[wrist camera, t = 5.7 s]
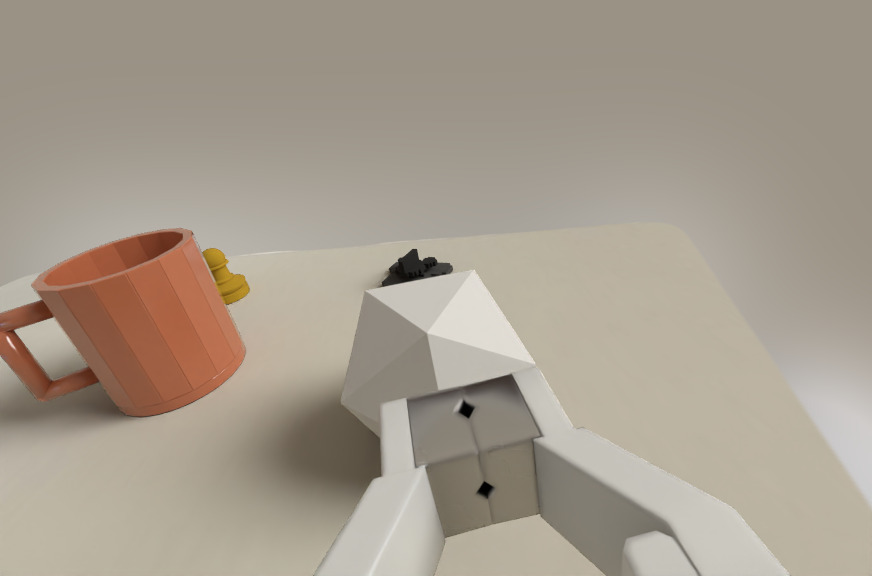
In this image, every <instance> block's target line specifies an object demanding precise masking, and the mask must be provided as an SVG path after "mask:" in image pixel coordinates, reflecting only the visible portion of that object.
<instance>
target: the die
mask: <svg viewBox="0 0 872 576" xmlns="http://www.w3.org/2000/svg"><path fill="white" fill-rule="evenodd" d="M534 366H536V363H535V362H534V360H533V359H532V357H531V356H530V354H529V353H528V351H527V350H526V348H525V347H524V345H523V344H522V342H521V340H520V339H519V337H518V336H517V334H516V333H515V331H514V330H513V328H512V327H511V325H510V324H509V322H508V321H507V319H506V318H505V316H504V315H503V313H502V311H501V310H500V308H499V307H498V305H497V304H496V302H495V301H494V299H493V298H492V296H491V295H490V293H489V292H488V290H487V289H486V287H485V286H484V284H483V282H482V281H481V279H480V278H479V276H478V275H477V273H476V272H475V270H474V269H473V270H468V271H462V272H457V273H452V274H447V275H442V276H437V277H432V278H427V279H421V280H416V281H411V282H406V283H401V284H396V285H391V286H385V287H380V288H375V289H370V290H365V293H364V298H363V302H362V307H361V311H360V316H359V320H358V325H357V329H356V334H355V338H354V343H353V348H352V352H351V357H350V361H349V366H348V370H347V375H346V379H345V384H344V388H343V393H342V398H341V402H340V403H341V404H342V405H343V406H344V407H345V408H347V409H348V410H349V411H350V412H351V413H352V414H353V415H355V416H356V417H357V418H358V419H359V420H360V421H361V422H362V423H364V424H365V425H366V426H367V427H368V428H369V429H370V430H371V431H373V432H374V433H375V434H376V435H377V436H378V437H379V438H380V428H379V407H380V403H384V402H389V401H393V400H398V399H403V398H407V397H410V396H414V395H419V394H424V393H428V392H433V391H438V390H442V389H447V388H452V387H456V386H461V385H465V384H469V383H473V382H477V381H481V380H485V379H489V378H493V377H497V376H501V375H505V374H510V373H511V372H515V371H519V370H523V369H527V368H531V367H534Z"/></svg>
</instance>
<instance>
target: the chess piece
mask: <svg viewBox="0 0 872 576" xmlns="http://www.w3.org/2000/svg"><path fill="white" fill-rule="evenodd" d="M202 253H203V256H204V258H205V260H206V262H207V264H208V266H209V268H210V271H211V273H212V275H213V277H214V279H215V281H216V283H217V285H218V288H219V290H220V292H221V294H222V296H223V298H224V300H225V303H226V305H227V304H230V303H233V302H235V301H237V300H239V299H241V298H243V297H244V296H245V295H247V294H248V292H249V290H250V289H249V286H248V284H247V282H246V280H245V276H244V275H240V274H236V275H234V274H233V273H230V272H229V270H228V269H227V267H226V264H227V263H228V262H229V261H228V260H227V259H225V255H224V254H223V253H222V252H221V251H220V250H218V249H215V248H210V249H206V250H205V251H203V252H202Z"/></svg>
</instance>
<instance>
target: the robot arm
mask: <svg viewBox="0 0 872 576" xmlns="http://www.w3.org/2000/svg"><path fill="white" fill-rule="evenodd" d="M379 428H380V454H381V477H378V478H374V479H372V481H371V483H370V484H369V486H368V487H367V489H366V491H365V492H364V494H363V496H362V497H361V499H360V500H359V502H358V504H357V505H356V507H355V508H354V510H353V512H352V513H351V515H350V516H349V518H348V520H347V521H346V523H345V525H344V526H343V528H342V529H341V531H340V533H339V534H338V536H337V537H336V539H335V541H334V542H333V544H332V546H331V547H330V549H329V550H328V552H327V554H326V555H325V557H324V558H323V560H322V562H321V563H320V565H319V566H318V568H317V570H316V571H315V573H314V575H313V576H434V575H435V572H436V569H437V566H438V563H439V560H440V557H441V554H442V551H443V548H444V545H445V542H446V541H445V538H447V537H451V536H454V535H457V534H461V533H464V532H468V531H471V530H475V529H478V528H482V527H485V526H489V525H492V524H497V523H501V522H506V521H510V520H515V519H519V518H524V517H528V516H532V515H537V514H540V515H541V517H542V518H543V519H544V520H545V521H546V522H547V523H549V524H550V525H551V526H552V527H553V528H554V529H555V530H556V531H557V532H559V533H560V534H561V535H562V536H563V537H564V538H565V539H566V540H567V541H569V542H570V543H571V544H572V545H573V546H574V547H575V548H576V549H577V550H579V551H580V552H581V553H582V554H583V555H584V556H585V557H586V558H587V559H588V560H590V561H591V562H592V563H593V564H594V565H595V566H596V567H597V568H598V569H600V570H601V571H602V572H603V573H604V574H605V575H606V576H791V575H790V574H789V573H788V572H787V571H786V569H785V568H784V567H783V566H782V565H781V564H780V562H779V561H778V560H777V559H776V558H775V556H774V555H773V554H772V553H771V552H770V550H769V549H768V548H767V547H766V546H765V544H764V543H763V542H762V541H761V540H760V539H759V537H758V536H757V535H756V534H755V533H754V531H753V530H752V529H751V528H750V527H749V525H748V524H747V523H746V522H745V521H744V519H743V518H742V517H741V516H740V515H739V514H738V512H737V511H736V510H735V509H734V508H733V507H731V506H729V505H727V504H725V503H724V502H722V501H720V500H718V499H716V498H714V497H712V496H711V495H709V494H707V493H705V492H703V491H701V490H699V489H698V488H696V487H694V486H692V485H690V484H688V483H686V482H684V481H683V480H681V479H679V478H677V477H675V476H673V475H671V474H670V473H668V472H666V471H664V470H662V469H660V468H658V467H657V466H655V465H653V464H651V463H649V462H647V461H645V460H644V459H642V458H640V457H638V456H636V455H634V454H632V453H631V452H629V451H627V450H625V449H623V448H621V447H619V446H617V445H616V444H614V443H612V442H610V441H608V440H606V439H604V438H603V437H601V436H599V435H597V434H595V433H593V432H591V431H590V430H588V429H586V428H584V427H581V428H577V429H574V427H573V425H572V424H571V422H570V420H569V418H568V417H567V415H566V413H565V412H564V410H563V408H562V407H561V405H560V403H559V402H558V400H557V398H556V396H555V395H554V393H553V391H552V390H551V388H550V386H549V385H548V383H547V381H546V379H545V378H544V376H543V374H542V373H541V371H540V369H539V368H537V367H535V366H534V367H531V368H527V369H523V370H519V371H515V372H511V373H510V374H505V375H501V376H497V377H493V378H489V379H485V380H481V381H477V382H473V383H469V384H465V385H461V386H456V387H452V388H447V389H442V390H438V391H433V392H428V393H424V394H419V395H414V396H410V397H407V398H403V399H398V400H393V401H389V402H384V403H380V407H379Z"/></svg>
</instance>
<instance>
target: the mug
mask: <svg viewBox="0 0 872 576" xmlns="http://www.w3.org/2000/svg"><path fill="white" fill-rule="evenodd" d="M31 287H32V288H33V289H34V291H35V292H36V294H37V295H38V297H39V298H40V299H41V300H40V301H37V302H34V303H30V304H27V305H24V306H21V307H18V308H14V309H11V310H8V311H5V312H1V313H0V356H1V357H2V358H3V359H4V361H5V362H6V363H7V364H8V366H9V367H10V368H11V369H12V371H13V372H14V373H15V374H16V375H17V377H18V378H19V379H20V380H21V382H22V383H23V384H24V385H25V386H26V388H27V389H28V390H29V391H30V393H31V394H32V395H33V396H34V398H35V399H36V400H38V401H41V402H47V401H51V400H53V399H56V398H58V397H61V396H64V395H66V394H69V393H72V392H74V391H77V390H79V389H82V388H85V387H87V386H90V385H93V384H95V383H98V382H99V383H100V385H101V386H102V387H103V389H104V390H105V392H106V393H107V395H108V396H109V397H110V398H111V400H112V401H113V402H114V403H115V405H116V406H117V408H118V409H119V410H120V411H121V412H122V413H124V414H127V415H130V416H139V417H141V416H151V415H157V414H161V413H165V412H169V411H172V410H175V409H177V408H180V407H183V406H185V405H187V404H189V403H191V402H194V401H196V400H197V399H199V398H201V397H203V396H205V395H206V394H208V393H210V392H211V391H213V390H214V389H216V388H217V387H218V386H220V385H221V384H222V383H223V382H225V381H226V380H227V379H228V378H229V377H230V376H231V375H232V374H233V373H234V372H235V371H236V370H237V369H238V367H239V366H240V365H241V363H242V361H243V359H244V356H245V352H246V349H245V345H244V343H243V341H242V339H241V335H240V332H239V330H238V328H237V326H236V324H235V322H234V320H233V317H232V315H231V313H230V311H229V309H228V307H227V305H226V303H225V300H224V298H223V296H222V294H221V292H220V290H219V288H218V285H217V283H216V281H215V279H214V277H213V275H212V273H211V271H210V268H209V266H208V264H207V262H206V260H205V258H204V256H203V253H202V251H201V249H200V247H199V245H198V243H197V241H196V239H195V237H194V234H193V232H192V231H191V230H187V229H183V228H176V229H163V230H157V231H152V232H147V233H142V234H137V235H134V236H131V237H127V238H123V239H120V240H116V241H113V242H110V243H107V244H104V245H101V246H99V247H96V248H93V249H90V250H88V251H85V252H83V253H80V254H78V255H76V256H74V257H72V258H69V259H67V260H65V261H63V262H60V263H59V264H57V265H55V266H54V267H52V268H50V269H49V270H47V271H46V272H44V273H42V274H40V275H39V276H38V277H37V279H36V280H35V281H34V282H33V283H32V284H31ZM50 318H54V319H55V321H56V322H57V324H58V325H59V326H60V328H61V329H62V331H63V332H64V334H65V335H66V336H67V338H68V339H69V341H70V342H71V343H72V345H73V346H74V348H75V349H76V351H77V352H78V353H79V355H80V356H81V358H82V359H83V360H84V362H85V363H86V365H87V366H88V367H87V368H84V369H81V370H78V371H76V372H73V373H70V374H68V375H65V376H62V377H59V378H57V379H54V380H52V379H51V378H50V377H49V376H48V374H47V373H46V372H45V370H44V369H43V368H42V366H41V365H40V364H39V363H38V361H37V360H36V359H35V357H34V356H33V355H32V353H31V352H30V351H29V350H28V348H27V347H26V346H25V344H24V343H23V342H22V340H21V339H20V338H19V337H18V335H17V334H16V333H15V331H14V330H16V329H19V328H22V327H25V326H28V325H31V324H34V323H37V322H41V321H44V320H47V319H50Z"/></svg>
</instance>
